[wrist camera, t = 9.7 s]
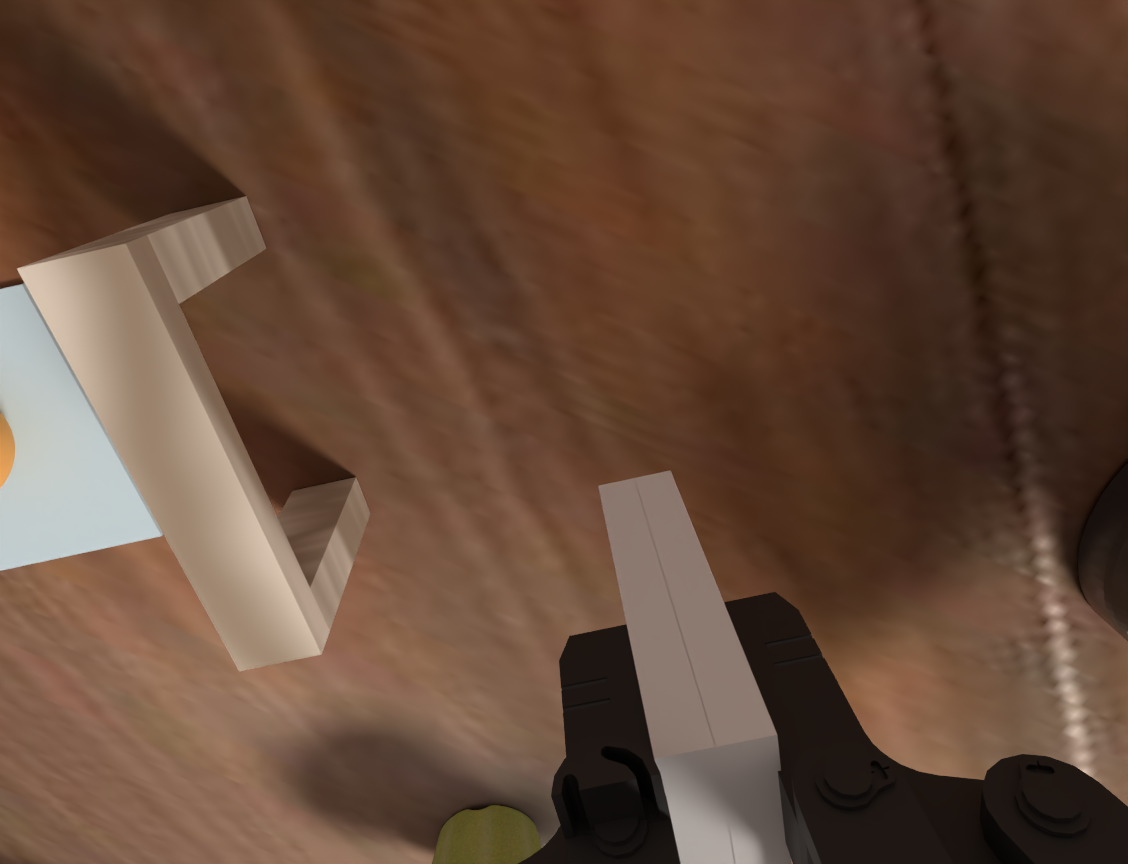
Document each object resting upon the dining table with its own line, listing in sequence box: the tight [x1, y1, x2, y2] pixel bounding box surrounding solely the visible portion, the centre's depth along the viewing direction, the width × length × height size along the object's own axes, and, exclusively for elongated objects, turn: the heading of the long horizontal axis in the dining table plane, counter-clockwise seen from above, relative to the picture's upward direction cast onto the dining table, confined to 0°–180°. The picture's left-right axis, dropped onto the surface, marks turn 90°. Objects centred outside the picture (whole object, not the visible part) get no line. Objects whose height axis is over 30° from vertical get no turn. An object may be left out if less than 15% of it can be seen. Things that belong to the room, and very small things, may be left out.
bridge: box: [17, 196, 370, 671], centre depth 26 cm, size 3×14×9 cm, turn 12°
